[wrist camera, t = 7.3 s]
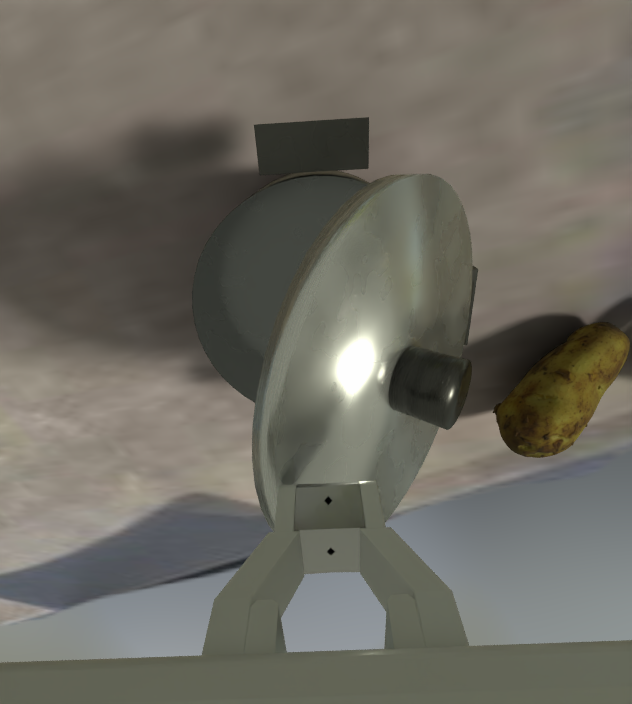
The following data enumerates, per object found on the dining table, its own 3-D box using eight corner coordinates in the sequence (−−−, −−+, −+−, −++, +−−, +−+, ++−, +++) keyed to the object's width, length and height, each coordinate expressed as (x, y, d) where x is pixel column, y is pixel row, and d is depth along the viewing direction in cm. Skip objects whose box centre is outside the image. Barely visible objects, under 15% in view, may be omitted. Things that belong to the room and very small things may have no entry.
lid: (205, 205, 8) (333, 212, 6) (472, 161, 20) (547, 158, 18) (280, 629, 16) (349, 691, 14) (441, 419, 27) (491, 436, 26)
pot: (202, 136, 28) (152, 129, 19) (442, 121, 28) (501, 107, 19) (243, 382, 38) (222, 451, 29) (420, 373, 37) (453, 441, 29)
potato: (617, 372, 38) (688, 423, 30) (490, 426, 41) (527, 484, 33) (599, 303, 34) (673, 343, 27) (462, 367, 37) (497, 418, 30)
